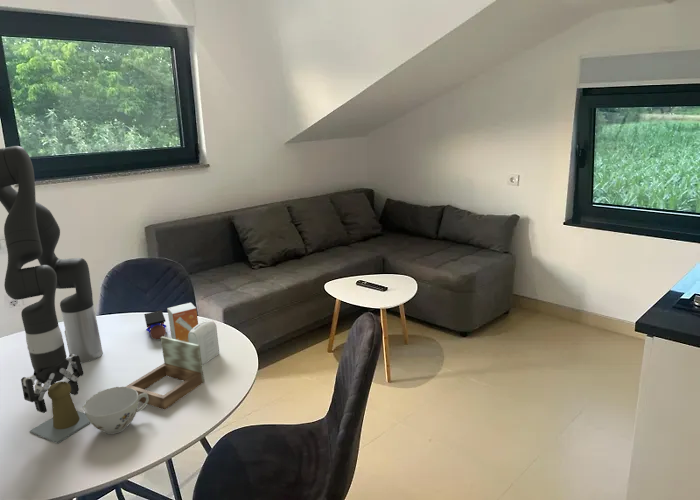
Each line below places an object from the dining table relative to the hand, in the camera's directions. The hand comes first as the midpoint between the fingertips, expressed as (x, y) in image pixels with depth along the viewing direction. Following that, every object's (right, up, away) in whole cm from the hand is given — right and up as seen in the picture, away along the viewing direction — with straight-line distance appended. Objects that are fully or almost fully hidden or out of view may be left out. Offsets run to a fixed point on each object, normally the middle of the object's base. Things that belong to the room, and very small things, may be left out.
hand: (59, 402), depth 131 cm
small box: (+18, +7, +44) cm, 49 cm away
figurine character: (+5, +9, +53) cm, 54 cm away
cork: (+1, -6, +3) cm, 6 cm away
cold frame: (+21, -1, +16) cm, 27 cm away
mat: (0, -6, +2) cm, 7 cm away
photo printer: (+28, +4, +33) cm, 44 cm away
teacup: (+15, -6, +1) cm, 17 cm away
